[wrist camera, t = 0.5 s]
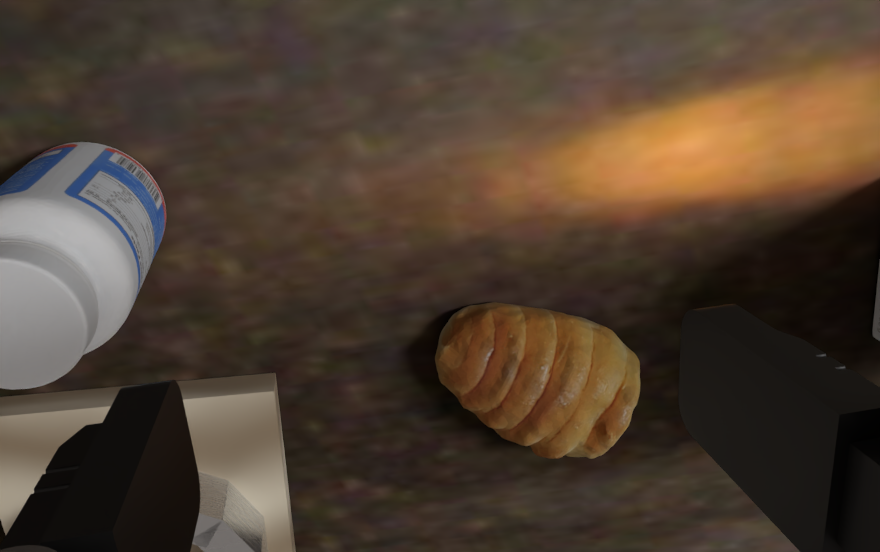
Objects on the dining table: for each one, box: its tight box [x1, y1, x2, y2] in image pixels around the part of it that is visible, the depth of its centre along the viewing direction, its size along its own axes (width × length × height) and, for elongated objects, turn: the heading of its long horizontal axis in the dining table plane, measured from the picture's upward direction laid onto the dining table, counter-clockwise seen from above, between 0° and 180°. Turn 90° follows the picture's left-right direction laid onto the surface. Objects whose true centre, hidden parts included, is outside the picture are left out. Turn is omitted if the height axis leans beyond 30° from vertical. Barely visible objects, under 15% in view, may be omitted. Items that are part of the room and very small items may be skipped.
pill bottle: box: [0, 142, 166, 390], centre depth 24 cm, size 6×5×10 cm
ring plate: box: [0, 373, 296, 552], centre depth 34 cm, size 16×12×2 cm
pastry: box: [435, 302, 640, 459], centre depth 33 cm, size 9×7×4 cm
